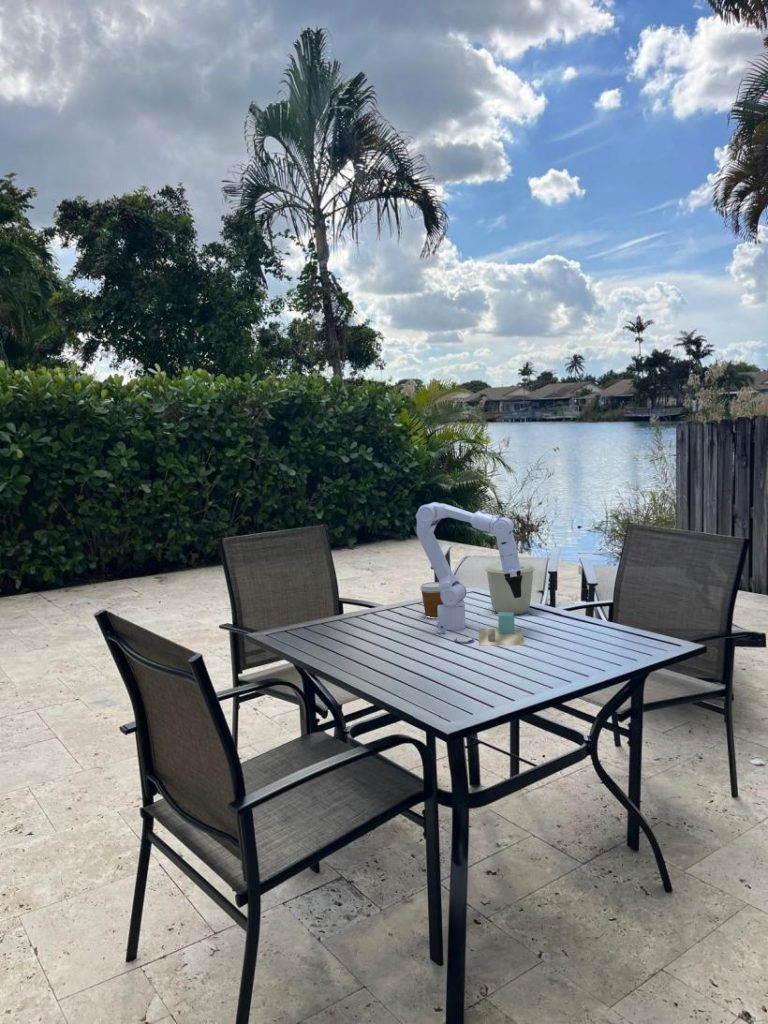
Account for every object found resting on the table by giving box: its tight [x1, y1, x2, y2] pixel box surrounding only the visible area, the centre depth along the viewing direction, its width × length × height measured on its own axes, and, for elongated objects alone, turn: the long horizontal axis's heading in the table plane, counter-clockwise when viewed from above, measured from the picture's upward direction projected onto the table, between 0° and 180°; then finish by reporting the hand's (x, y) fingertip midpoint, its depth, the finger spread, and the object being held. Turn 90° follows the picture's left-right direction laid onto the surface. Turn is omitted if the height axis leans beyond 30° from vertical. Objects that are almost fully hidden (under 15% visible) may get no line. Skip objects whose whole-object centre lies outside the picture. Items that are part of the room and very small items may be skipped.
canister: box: [484, 561, 536, 616], centre depth 268 cm, size 18×18×21 cm
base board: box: [478, 627, 526, 646], centre depth 232 cm, size 14×20×5 cm
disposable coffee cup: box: [420, 581, 443, 617], centre depth 266 cm, size 10×10×12 cm
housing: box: [497, 612, 516, 634], centre depth 237 cm, size 5×5×6 cm
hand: (517, 595), depth 236 cm, fingers open, 7 cm apart
